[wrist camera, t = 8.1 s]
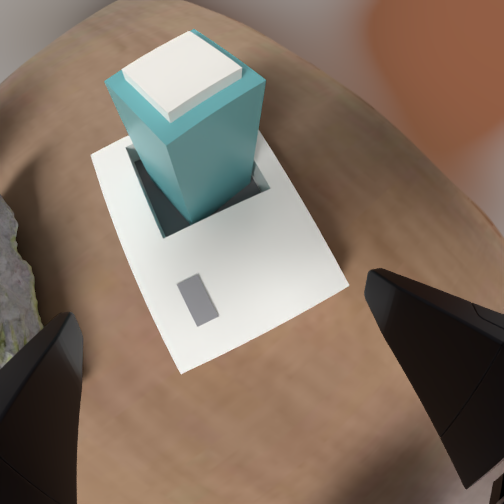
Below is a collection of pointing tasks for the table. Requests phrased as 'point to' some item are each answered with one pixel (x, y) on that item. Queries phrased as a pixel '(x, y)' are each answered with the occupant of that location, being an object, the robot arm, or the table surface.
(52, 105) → the table surface
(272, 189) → the socket plate
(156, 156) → the plug
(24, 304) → the rock
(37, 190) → the table surface
